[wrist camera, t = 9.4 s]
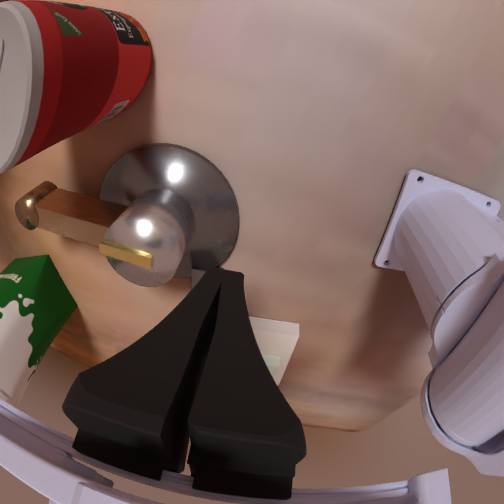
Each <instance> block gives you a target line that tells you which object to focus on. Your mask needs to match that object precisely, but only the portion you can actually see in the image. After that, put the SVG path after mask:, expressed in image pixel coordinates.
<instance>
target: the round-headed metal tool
mask: <svg viewBox="0 0 504 504" xmlns="http://www.w3.org/2000/svg"><path fill="white" fill-rule="evenodd" d="M15 212H16V216H17V218H18V220H19V222H20V223H21V224H22V225H23V226H24V227H25V228H27V229H29V230H33V229H35V228H36V227H38V228H41V229H44V230H47V231H50V232H53V233H56V234H59V235H62V236H65V237H68V238H71V239H75V240H78V241H81V242H84V243H87V244H90V245H94V246H97V247H99V252H100V254H103V255H106V257H107V259H108V261H109V263H110V264H111V266H112V267H113V268H114V270H115V271H116V272H117V273H118V274H120V275H121V276H122V277H123V278H125V279H126V280H128V281H130V282H132V283H134V284H137V285H140V286H145V287H156V286H161V285H163V284H165V283H167V282H168V281H169V280H170V279H171V278H172V277H173V276H174V274H175V272H176V270H177V267H178V265H179V263H180V261H181V259H182V257H183V255H184V253H185V251H186V249H187V247H188V245H189V242H190V240H191V238H192V236H193V234H194V231H195V217H194V214H193V211H192V209H191V208H190V206H189V204H188V203H187V202H186V201H185V200H184V199H183V198H182V197H181V196H179V195H178V194H176V193H174V192H172V191H170V190H167V189H161V188H155V189H149V190H147V191H144V192H143V193H141V194H140V195H139V196H138V197H137V198H136V199H135V200H134V201H133V202H132V203H131V204H130V205H129V206H126V205H122V204H118V203H114V202H110V201H106V200H102V199H98V198H94V197H90V196H86V195H82V194H78V193H74V192H70V191H66V190H61V189H58V188H57V187H56V186H55V185H54V184H53V183H52V182H49V181H44V182H43V183H41V184H40V185H38V186H37V187H35V188H34V189H33V190H31V191H30V192H29V193H27V194H26V195H24V196H23V197H22V198H20V199H19V200H18V201H17V202H16V204H15Z"/></svg>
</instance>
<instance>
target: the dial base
mask: <svg viewBox="0 0 504 504" xmlns="http://www.w3.org/2000/svg"><path fill="white" fill-rule="evenodd" d="M155 188H161V189H167V190H170V191H172V192H174V193H176V194H178V195H179V196H181V197H182V198H183V199H184V200H185V201H186V202H187V203H188V204H189V206H190V208H191V209H192V211H193V214H194V217H195V231H194V234H193V236H192V238H191V240H190V242H189V245H188V247H187V249H186V251H185V253H184V255H183V257H182V259H181V261H180V263H179V265H178V267H177V270H176V272H175V274H174V276H173V277H172V278H189V277H192V283H191V290H192V289H193V288H194V286H195V285H196V284H197V283H198V281H199V280H200V279H201V277H202V276H203V275H204V273H205V272H206V270H207V269H208V268H210V267H212V268H218V269H223V268H220V267H217V266H218V265H220V264H221V263H222V262H223V261H224V260H225V259H226V257H227V256H228V255H229V253H230V252H231V250H232V248H233V246H234V243H235V241H236V238H237V233H238V229H239V208H238V204H237V200H236V197H235V194H234V192H233V190H232V188H231V186H230V184H229V182H228V181H227V179H226V178H225V177H224V175H223V174H222V172H221V171H220V170H219V169H218V168H217V167H216V166H215V165H214V164H213V163H211V162H210V161H209V160H208V159H206V158H205V157H203V156H202V155H200V154H199V153H197V152H195V151H193V150H190V149H188V148H185V147H182V146H179V145H174V144H168V143H155V144H148V145H144V146H141V147H138V148H136V149H134V150H131V151H130V152H128V153H127V154H125V155H124V156H122V157H121V158H119V159H118V160H117V161H116V162H115V163H114V164H113V165H112V167H111V168H110V169H109V171H108V172H107V174H106V176H105V178H104V180H103V183H102V186H101V191H100V199H102V200H106V201H110V202H114V203H118V204H122V205H126V206H129V205H130V204H131V203H132V202H133V201H134V200H135V199H136V198H137V197H138V196H139V195H140V194H141V193H143V192H144V191H147V190H149V189H155Z"/></svg>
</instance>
